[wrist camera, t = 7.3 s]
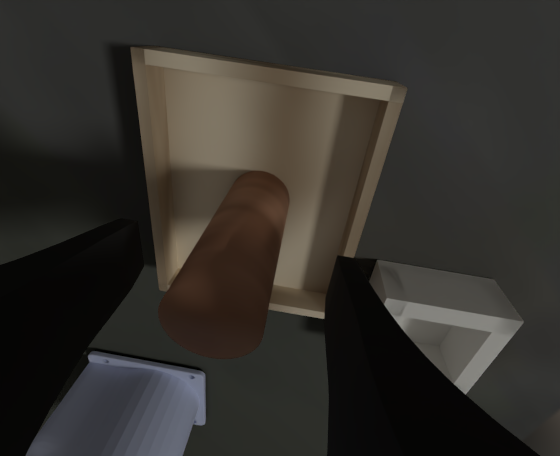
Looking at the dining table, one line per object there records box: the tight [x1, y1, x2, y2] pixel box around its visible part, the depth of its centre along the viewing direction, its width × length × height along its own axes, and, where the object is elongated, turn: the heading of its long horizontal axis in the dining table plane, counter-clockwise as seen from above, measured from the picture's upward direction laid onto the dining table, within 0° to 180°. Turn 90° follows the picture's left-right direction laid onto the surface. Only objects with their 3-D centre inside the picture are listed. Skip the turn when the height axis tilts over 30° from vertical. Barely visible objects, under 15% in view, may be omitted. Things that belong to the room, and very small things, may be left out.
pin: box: [158, 171, 290, 359], centre depth 12 cm, size 3×3×8 cm
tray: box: [130, 46, 407, 319], centre depth 15 cm, size 10×12×2 cm
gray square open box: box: [369, 260, 524, 395], centre depth 17 cm, size 6×6×3 cm
